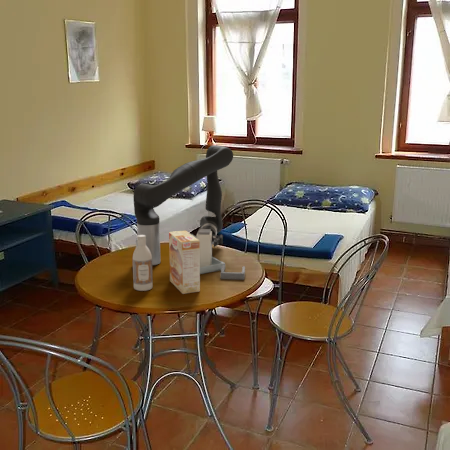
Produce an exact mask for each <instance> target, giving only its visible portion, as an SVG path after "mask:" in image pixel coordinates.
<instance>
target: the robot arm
mask: <svg viewBox="0 0 450 450" xmlns="http://www.w3.org/2000/svg"><path fill="white" fill-rule="evenodd" d="M233 159H234V151H232V149H231V148H229V147H227V146H222V145H215V144H214V145H213V144H212V145H210V146H209V147H208V148H207V150H206V153H205V158H202V159H201V158H200V159H196V160H192V161H188V162H186V163H184V164H182V165H180V166H178V167H177V168H175V169H174V170H173V171H172V172H171V174H170V175H169V177H168V179H166V180H165V181H163V182H161V183H158V184H156V185H155V184H154V185H153V184H148V183H140V184H137V186H136V187H135V189H134V191H133V210H134V216H135V219H136V227H137V228H136V230H137V232H136V233H137V236H138V235H145V236H146V246H147V247H148V249H149V250H150V252H151V255H152V266H156V265H158V264H159V265H160V264H161V232H160V230H161V229H160V228H161V227H160V216H159V214H157V212H156V211H155V208H157V207H159V206H161V205H162V204H164V203H165V202H166V201H167V200H169V199H170V198H171V197H172V196H174V195H176V194H178V193H180V192H181V191H183V190H184V189H187V188H189V187H190V186H192V185H194V184H195V183H197V182H198V181H200V180H202V179H204V178H206V200H205V210H206V211H207V212H209V213H210V212H211V213H213V214H214V216H209V215H205V216H202V217H201V218H200V221H199V229H211V231H212V245H213V247H216V246H217V247H218V245H223V243H224V242H223V237H224V235H223V234H220V235H217V234H218V233H220V232H221V231H222V230H223V226H224V225H223V224H224V223H223V217H222V212H221V211H222V207H221V206H222V198H223V197H222V196H223V195H222V193H223V192H222V188H221V184H220V179H219V177H218V171H219V170H221V169H224V168H226V167H228V166H229V165H230V164H231V163H232V161H233ZM190 234H191V235H193V236H194V237H195V238H197V235H194V234H193V233H190ZM137 246H138V239H137V240H135V248H136V247H137Z"/></svg>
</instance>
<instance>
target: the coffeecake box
mask: <svg viewBox="0 0 450 450" xmlns="http://www.w3.org/2000/svg"><path fill="white" fill-rule="evenodd" d="M191 234H192V233H190V232H188V231H187V230H177V231H175V230H174V231H169V232H168V243H169V244H168V245H169V246H168V247H169V250H168V251H169V252H168V253H169V282H171V284H172V285H174V287H175V288H176V289H177V290H178V291H179V292H180V293H181V294H182V295H184V294H185V295H186V294H190V293H198V292H200V291H201V276H200V275H201V274H200V241H199V240H198V239H197V238H195V237H194V236H195V235H194V234H193V235H194V236H193V235H191Z"/></svg>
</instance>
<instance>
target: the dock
mask: <svg viewBox="0 0 450 450" xmlns="http://www.w3.org/2000/svg"><path fill="white" fill-rule="evenodd" d="M241 269H242V270H241V272H233V271H231V272H229V271H225V270H226V265H225V266H222V268H221V270H220V280H241V281H242V280H245V276H246V266H244V265H243V266H242V268H241Z"/></svg>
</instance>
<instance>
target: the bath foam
mask: <svg viewBox="0 0 450 450" xmlns="http://www.w3.org/2000/svg"><path fill="white" fill-rule="evenodd" d="M136 239H137V240H138V246H137V247H136V246H135V249H134V251H133V254H132V278H133V289H134V290H136V291H138V292H139V291H140V292H143V291H144V292H147V291H149V290H151V289H153V286H154V285H153V283H154V282H153V265H152V255H151V252H150V250H149V249H148V247H147V246H146V236H145V235H137V238H136Z"/></svg>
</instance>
